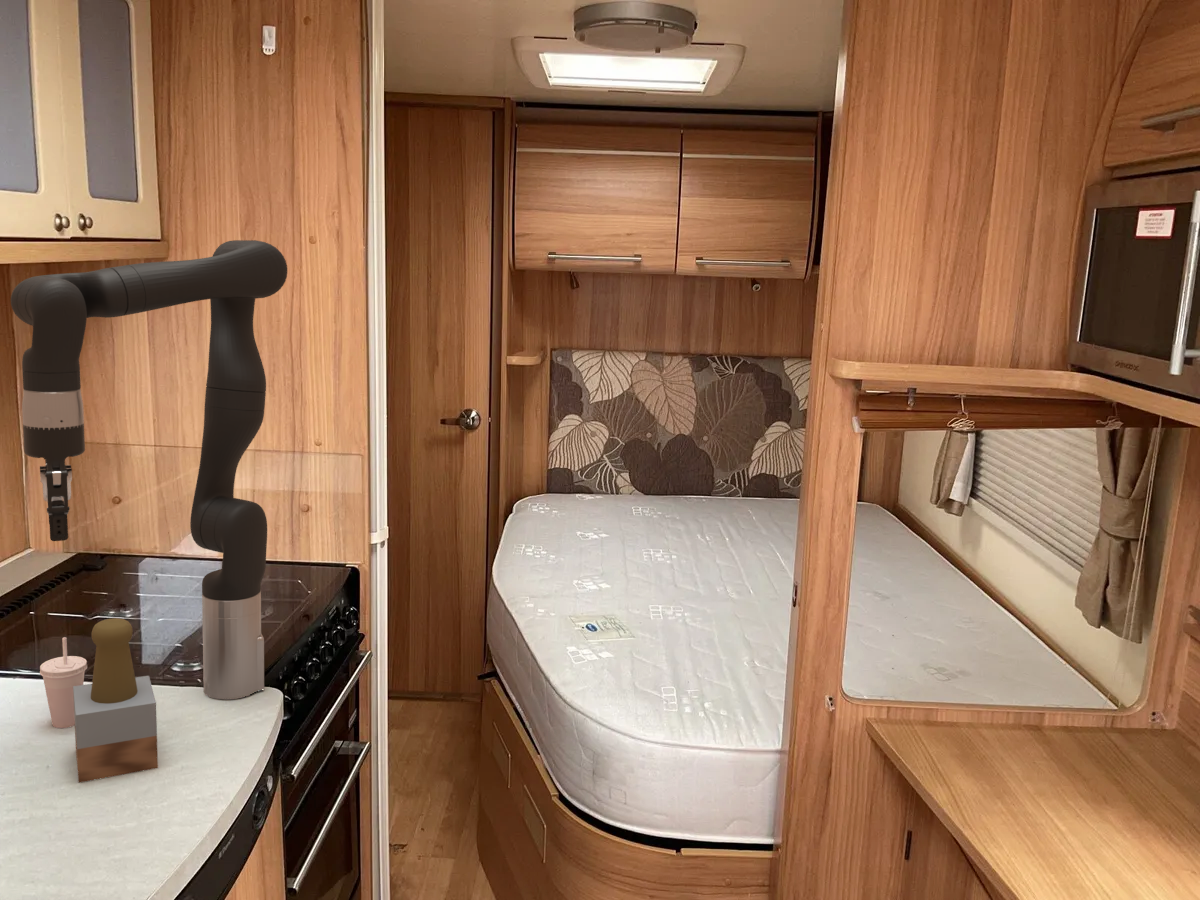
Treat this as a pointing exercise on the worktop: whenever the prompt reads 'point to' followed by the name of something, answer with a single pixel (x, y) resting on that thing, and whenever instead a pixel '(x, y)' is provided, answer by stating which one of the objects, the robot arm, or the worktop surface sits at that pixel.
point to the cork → (113, 662)
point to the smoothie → (62, 685)
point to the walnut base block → (116, 758)
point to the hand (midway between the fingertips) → (58, 532)
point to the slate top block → (114, 716)
